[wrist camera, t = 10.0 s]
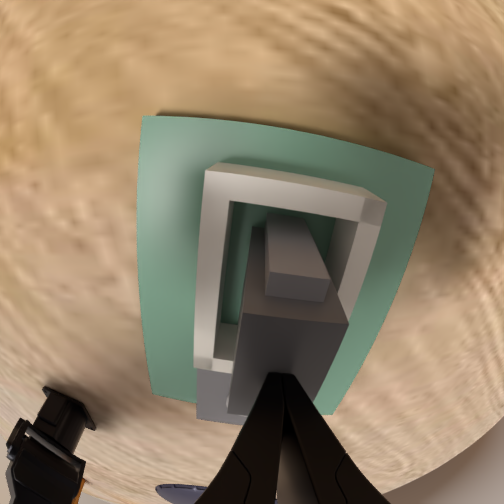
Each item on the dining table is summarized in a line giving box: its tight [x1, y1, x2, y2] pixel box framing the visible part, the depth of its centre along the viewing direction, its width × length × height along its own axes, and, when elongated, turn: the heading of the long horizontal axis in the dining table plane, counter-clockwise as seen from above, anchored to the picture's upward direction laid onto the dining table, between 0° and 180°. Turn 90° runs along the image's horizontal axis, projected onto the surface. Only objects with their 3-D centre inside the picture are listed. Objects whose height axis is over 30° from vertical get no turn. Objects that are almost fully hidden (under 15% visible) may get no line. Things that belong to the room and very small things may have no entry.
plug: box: [227, 212, 349, 416], centre depth 12 cm, size 7×3×7 cm, turn 172°
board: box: [137, 116, 435, 425], centre depth 15 cm, size 20×15×4 cm
